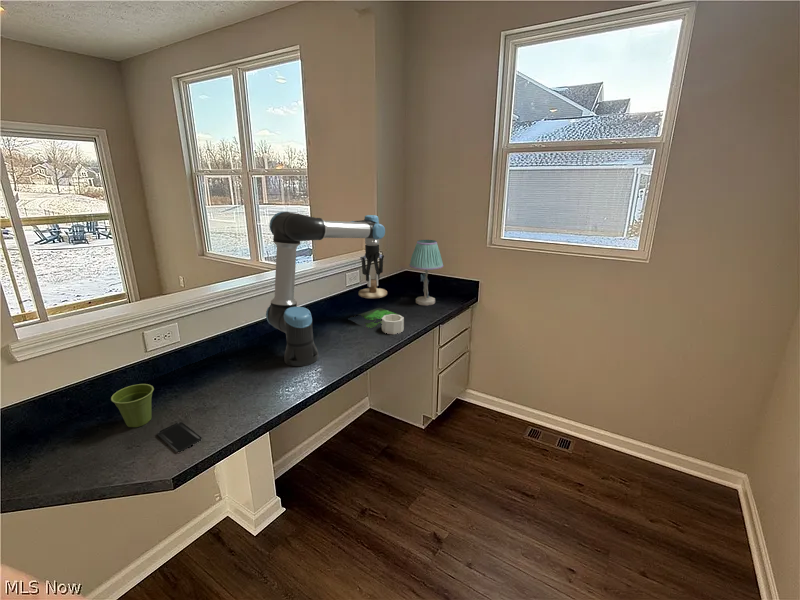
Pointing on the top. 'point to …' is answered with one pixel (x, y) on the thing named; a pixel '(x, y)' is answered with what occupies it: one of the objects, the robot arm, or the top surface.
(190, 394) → the top surface
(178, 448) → the phone
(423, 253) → the table lamp
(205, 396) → the top surface
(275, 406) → the top surface
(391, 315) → the cup
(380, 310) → the mouse mat
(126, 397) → the plant pot
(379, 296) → the lid
